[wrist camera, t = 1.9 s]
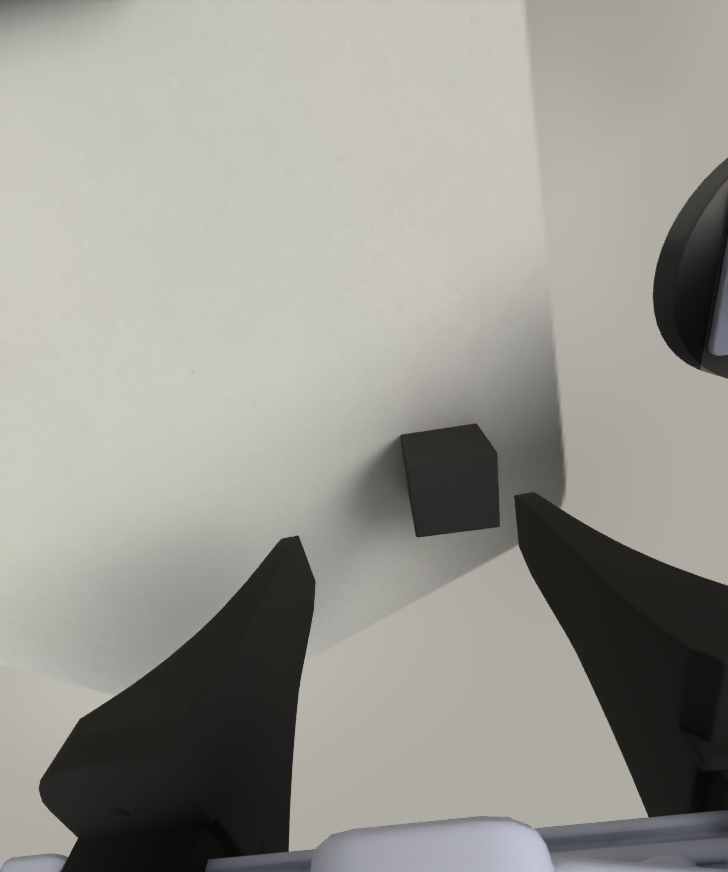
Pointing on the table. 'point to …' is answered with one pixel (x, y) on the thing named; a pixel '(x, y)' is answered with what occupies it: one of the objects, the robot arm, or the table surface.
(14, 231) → the table surface
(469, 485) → the black block
